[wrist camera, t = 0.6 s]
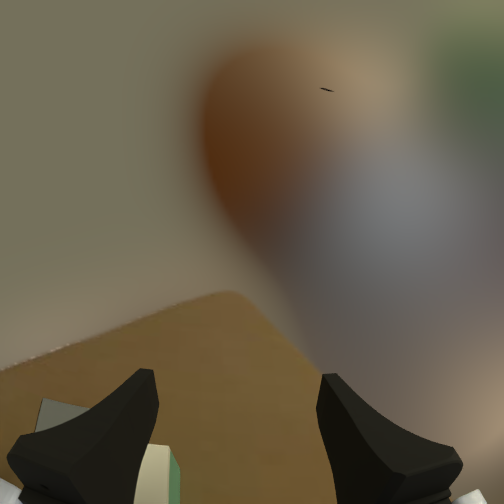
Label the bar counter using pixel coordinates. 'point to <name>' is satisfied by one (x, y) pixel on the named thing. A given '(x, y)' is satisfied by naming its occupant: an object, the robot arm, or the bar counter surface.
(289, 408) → the bar counter surface
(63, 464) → the robot arm
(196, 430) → the bar counter surface
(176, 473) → the block
